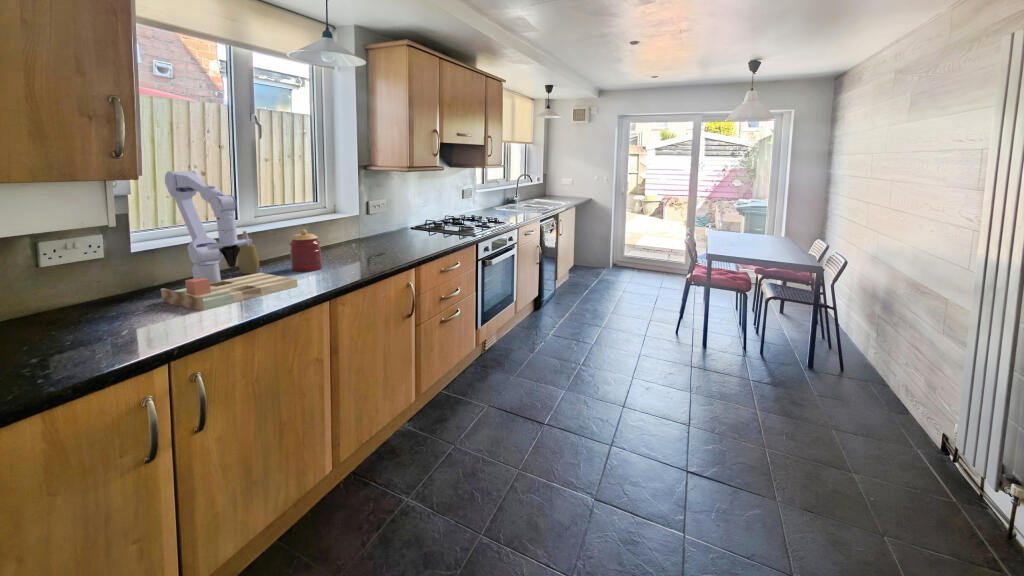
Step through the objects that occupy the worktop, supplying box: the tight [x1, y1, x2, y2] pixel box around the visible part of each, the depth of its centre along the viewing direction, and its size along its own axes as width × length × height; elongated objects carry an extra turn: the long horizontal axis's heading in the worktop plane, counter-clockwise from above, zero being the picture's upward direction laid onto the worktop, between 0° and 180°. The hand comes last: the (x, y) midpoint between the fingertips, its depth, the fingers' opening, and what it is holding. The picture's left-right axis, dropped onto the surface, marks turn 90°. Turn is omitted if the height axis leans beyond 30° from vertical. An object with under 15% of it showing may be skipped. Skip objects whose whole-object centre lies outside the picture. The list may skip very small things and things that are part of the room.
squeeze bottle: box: [237, 230, 260, 275], centre depth 211 cm, size 8×8×18 cm
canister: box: [288, 229, 323, 273], centre depth 220 cm, size 13×13×18 cm
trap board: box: [160, 272, 299, 312], centre depth 180 cm, size 22×37×4 cm, turn 152°
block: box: [184, 277, 211, 296], centre depth 168 cm, size 5×5×5 cm
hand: (232, 266), depth 181 cm, fingers closed
